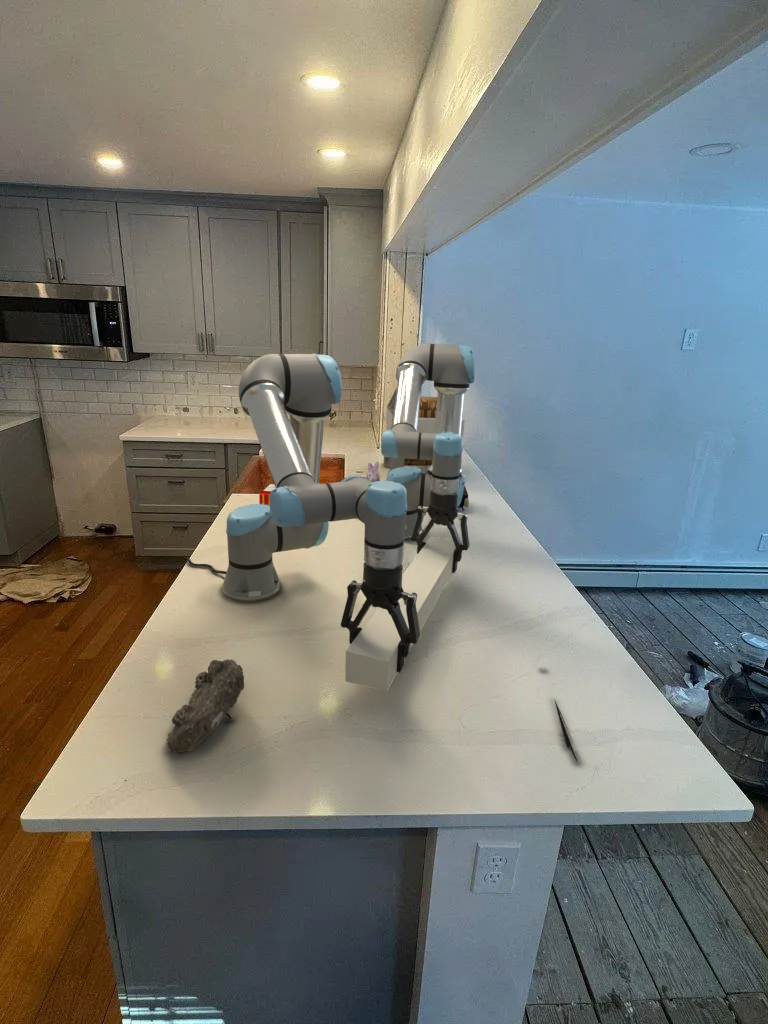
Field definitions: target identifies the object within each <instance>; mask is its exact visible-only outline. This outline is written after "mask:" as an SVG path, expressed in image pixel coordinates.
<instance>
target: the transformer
mask: <svg viewBox="0 0 768 1024" xmlns="http://www.w3.org/2000/svg"><path fill="white" fill-rule="evenodd" d="M396 391H397V387H396V388H395V390H394V392H393V394H392V395H391V398H390V400H389V402H388V404H387V405H386V413H385V414H386V415H385V423H386V428H385V431H386V430H391V425H392V418H393V411H394V405H395V398H396ZM437 397H438V396H421V397H420V406H419V416H418V425H417V432H419V433H435V424H436V410H437ZM464 429H465V419H464V418H462V423H461V434H460V436H461V437H462V439H464V431H465V430H464ZM432 461H433V460H420V459H404V458H391V457H385V456H383V466H384V467H388V468H389V472H390V471H391V470H393V469H395V468H399V467H405V466H406V467H417V466H418V467H429V466H431V465H432ZM462 461H463V460H462V457H461V463H462ZM460 469H461V470H462V465H461V466H460Z"/></svg>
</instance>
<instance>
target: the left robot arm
mask: <svg viewBox="0 0 768 1024" xmlns="http://www.w3.org/2000/svg"><path fill="white" fill-rule="evenodd" d="M238 398H239V402H240V405H241V408H242V410H243V412H244V413H245V415H247V416H249V417H250V419H251V423H252V425H253V428H254V431H255V434H256V437H257V440H258V442H259V445H260V448H261V451H262V454H263V456H264V460H265V461H266V462H265V463H266V464H267V468H268V471H269V473H270V476H271V479H272V482H273V484H274V485H275V487H276V488H275V489H273V490H272V491H271V493H270V498H269V504H270V507H269V506H268V505H264V504H258V503H252V504H246V505H243V506H239V507H237V508H235V509H233V510H232V511H230V512H229V514H228V515H227V517H226V529H225V534H226V539H227V557H228V566H227V570H219V569H215V568H214V566H213V565H211V564H209V563H194V562H193V561H192V560H191V559H190V557H189V556H185V557H184V558H183V561H187V563H188V564H189V565H190V566H193V567H196V568H197V567H199V568H200V567H201V568H202V567H204V568H209V569H210V571H211V572H213V573H215V574H222V575H225V576H224V580H223V585H222V591H223V594H224V596H226V597H227V598H228V599H229V600H230V599H231V600H233V601H237V602H244V603H251V602H252V603H254V602H259V601H260V602H261V601H264V600H267V599H270V598H272V597H273V596H275V595H277V593H279V591H280V588H281V582H280V578H279V575H278V573H277V572H278V571H277V569H276V567H275V565H274V561H273V554H274V553H282V552H288V551H294V550H301V549H311V548H314V547H318V546H321V545H322V544H323V543H324V542H325V540H327V536H328V533H329V528H330V527H329V526H330V525H329V524H330V523H331V522H339V521H346V520H347V521H348V520H355V519H358V520H359V521H360V522H361V523H362V524H364V540H363V541H364V544H363V561H364V562H363V568H362V569H363V570H362V582H357V580H351V582H350V583H349V584H348V585H347V587H346V590H347V597H346V602H345V606H344V611H343V614H342V617H341V621H340V627H341V628H344V629H345V628H346V629H348V631H349V639H348V642H349V646H350V645H351V643H352V642H353V641H354V639H355V638H356V637H357V635H358V634H359V633H360V631H361V630H362V629H363V627H361V626H360V624H361V622H362V621H363V619H364V618H365V616H366V615H367V613H368V611H369V610H370V608H371V607H373V608H378V607H380V608H383V609H386V610H387V611H388V613H389V615H391V617H392V619H393V622H394V624H395V627H396V629H397V631H398V634H399V636H400V639H401V640H400V642H399V644H398V656H397V674H401V672H402V670H403V669H404V667H405V661H406V658H408V657H409V654H410V652H411V649H410V643H413V645H416V644H417V643H418V642H419V639H420V638H421V631H420V629H419V623H418V616H417V610H416V599H417V594H416V593H414V592H413V593H412V594H409V593H406V592H404V591H403V588H402V575H403V572H404V571H403V569H404V565H403V562H404V556H405V555H404V554H405V553H404V552H405V540H404V537H405V524H406V511H407V502H406V500H407V491H406V488H405V487H404V486H403V485H402V484H400V483H394V482H392V481H387V480H381V481H376V482H373V481H372V480H369V479H368V478H366V476H363V475H360V474H351V475H348V476H346V477H344V478H343V479H342V480H341V481H336V482H335V481H334V482H324V483H320V473H321V462H322V450H323V440H324V439H323V438H324V428H325V419H326V418H328V417H329V416H330V415H331V414H332V408H333V407H332V406H333V405H336V404H339V403H340V402H341V400H342V398H343V382H342V375H341V372H340V369H339V366H338V364H337V362H336V360H335V359H334V358H333V357H332V356H330V355H327V354H317V353H279V354H278V353H269V354H265V355H264V354H263V355H262V356H260V357H257V358H256V359H255V360H253V361H252V362H251V363H250V364H249V365H248V366H247V367H246V369H245V370H244V371H243V373H242V375H241V378H240V381H239V384H238ZM360 592H362V595H364V597H365V600H364V602H363V604H362V605H361V608H360V610H359V611H358V613H357V614H356V616H355V617H354V620H352V618H353V613H354V610H355V605H356V601H357V597H358V594H359V593H360ZM400 598H402V599H403V600H404V604H405V605H406V612H407V619H408V625H409V629H408V626H407V624H406V622H405V619H404V617H403V614H402V612H401V609H400V604H399V602H398V600H399V599H400Z"/></svg>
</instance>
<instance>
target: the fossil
mask: <svg viewBox="0 0 768 1024" xmlns="http://www.w3.org/2000/svg"><path fill="white" fill-rule="evenodd" d="M243 670H244V669H243V667H242V665H240V664H237V662H236V661H235V660H234V659H232V658H231V659H227V658H226V659H224V660H223V661H222V660H217V659H212V660H211V661H210V663H209V665H208V666H207V671H201V672H199V673H198V674H197V675H196V676H195V680H194V684H195V685H194V687H195V689H194V690H193V693H192V694H191V697H190V698H189V700H188V704H184V705H182V706H181V707H180V709H177V710H176V711H175V713H174V715H173V716H172V718H171V723H172V724H173V727H172V730H171V731H170V732H168V734H167V738H166V741H167V742H166V745H167V749H168V750H169V751H173V752H174V753H176V754H178V753H182V752H188V751H189V752H192V751H193V750H195V748H196V747H197V746H199V744H200V743H201V742H203V741H204V740H205V739H206V738H207V737H208V736H209V735H210V734H211V733H212V732H214V730H215V729H217V727H218V726H219V724H220V722H221V721H222V720H223V719H224V718H225V716H226V717H227V719H229V720H233V717H232V715H230V714H229V710H230V709H231V708H234V706H235V704H236V703H237V702H238V699H239V697H240V695H241V693H242V691H243V690H245V689H244V688H245V675H244V671H243Z"/></svg>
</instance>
